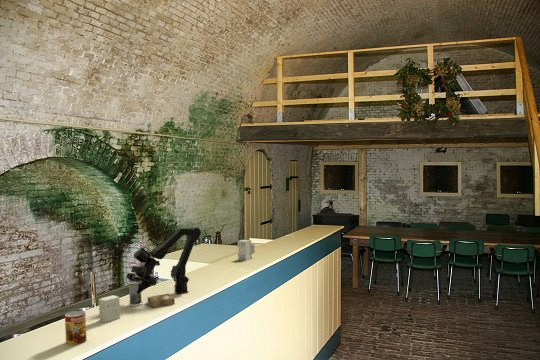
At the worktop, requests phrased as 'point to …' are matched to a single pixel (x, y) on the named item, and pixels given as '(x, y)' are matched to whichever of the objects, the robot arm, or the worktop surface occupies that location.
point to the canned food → (75, 327)
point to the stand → (161, 300)
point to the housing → (135, 293)
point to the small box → (109, 308)
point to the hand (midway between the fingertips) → (133, 292)
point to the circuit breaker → (245, 250)
